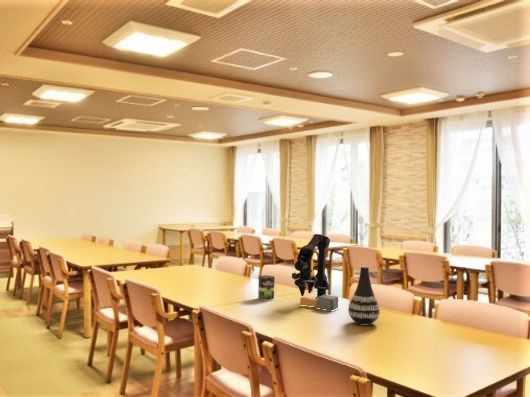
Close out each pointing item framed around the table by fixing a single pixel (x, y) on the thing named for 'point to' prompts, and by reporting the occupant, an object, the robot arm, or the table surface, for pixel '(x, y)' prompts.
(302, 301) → the orange rectangular bar
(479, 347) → the table surface
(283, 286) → the table surface
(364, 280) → the vase
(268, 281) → the coffee can
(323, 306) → the dispenser
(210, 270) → the table surface
